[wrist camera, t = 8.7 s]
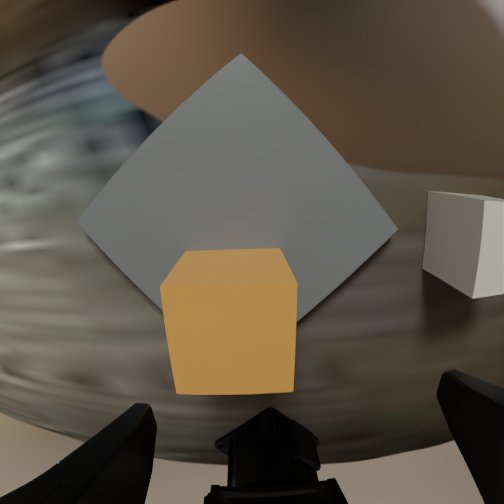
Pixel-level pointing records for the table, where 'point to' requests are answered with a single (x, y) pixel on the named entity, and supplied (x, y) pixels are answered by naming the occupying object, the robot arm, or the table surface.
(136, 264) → the plate
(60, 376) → the table surface
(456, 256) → the matte ivory cube
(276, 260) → the matte amber box
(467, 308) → the table surface
